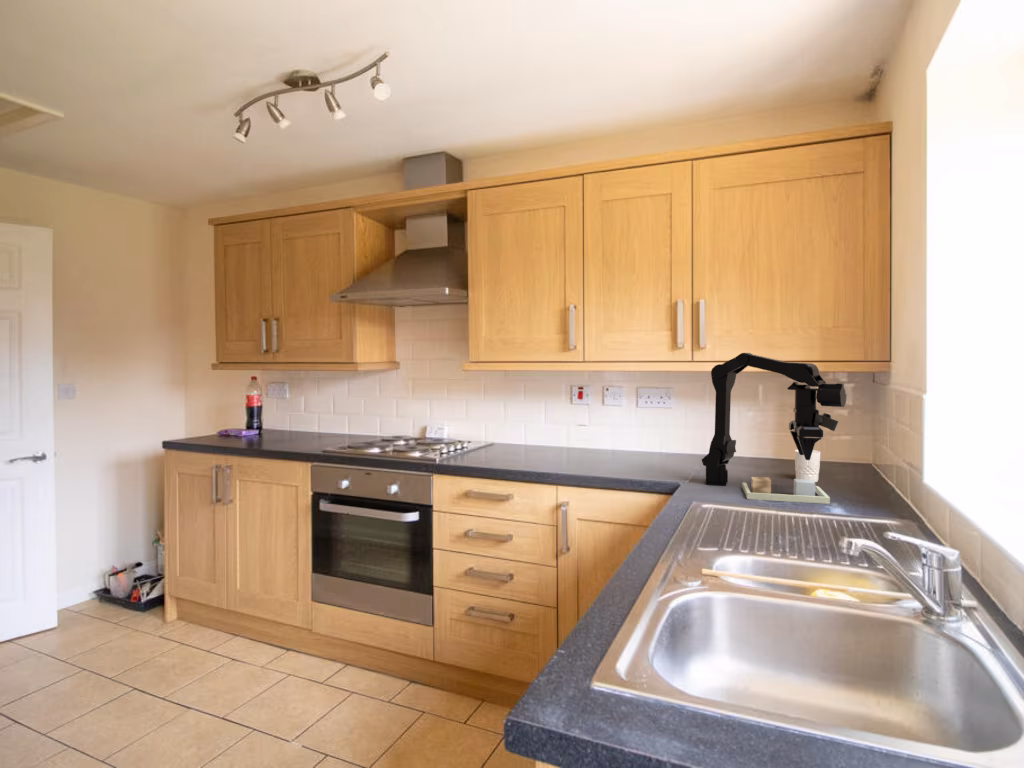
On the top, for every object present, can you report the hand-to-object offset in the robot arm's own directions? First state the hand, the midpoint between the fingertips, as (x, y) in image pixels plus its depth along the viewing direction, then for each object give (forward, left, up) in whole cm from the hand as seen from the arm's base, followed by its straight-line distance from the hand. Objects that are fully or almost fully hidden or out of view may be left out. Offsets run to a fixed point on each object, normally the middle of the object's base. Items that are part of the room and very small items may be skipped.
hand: (804, 457), depth 173 cm
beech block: (-12, 0, -12) cm, 17 cm away
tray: (-6, +1, -12) cm, 13 cm away
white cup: (+5, +26, -12) cm, 29 cm away
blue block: (0, 0, -12) cm, 12 cm away
